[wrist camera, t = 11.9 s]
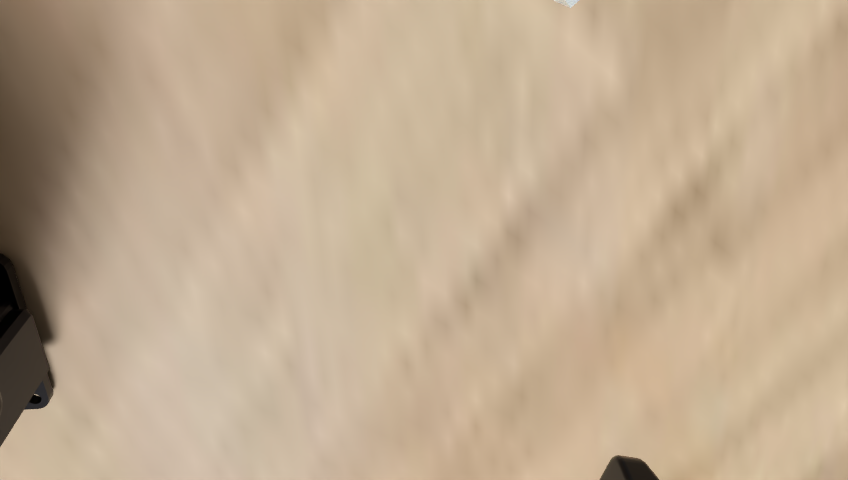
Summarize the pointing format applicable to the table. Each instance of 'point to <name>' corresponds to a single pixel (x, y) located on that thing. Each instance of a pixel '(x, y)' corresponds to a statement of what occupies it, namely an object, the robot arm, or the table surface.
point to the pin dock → (567, 2)
